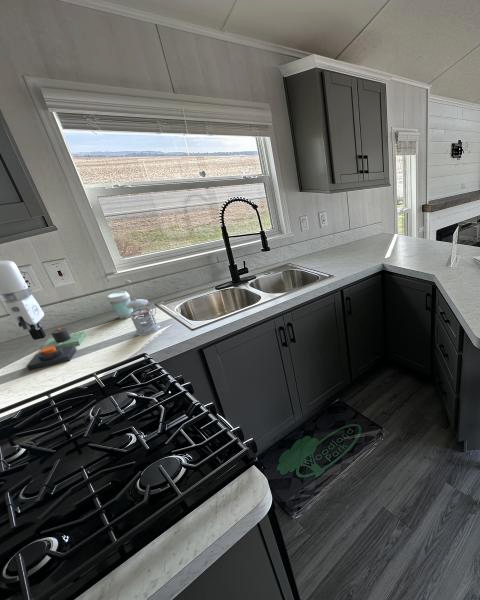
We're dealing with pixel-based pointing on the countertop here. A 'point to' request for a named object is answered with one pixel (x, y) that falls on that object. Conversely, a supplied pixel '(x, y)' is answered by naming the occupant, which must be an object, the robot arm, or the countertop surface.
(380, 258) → the countertop surface
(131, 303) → the french press
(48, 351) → the button
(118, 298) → the coffee cup
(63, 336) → the temp dial
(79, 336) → the dial panel
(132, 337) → the countertop surface
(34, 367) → the kettle base
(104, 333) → the countertop surface
